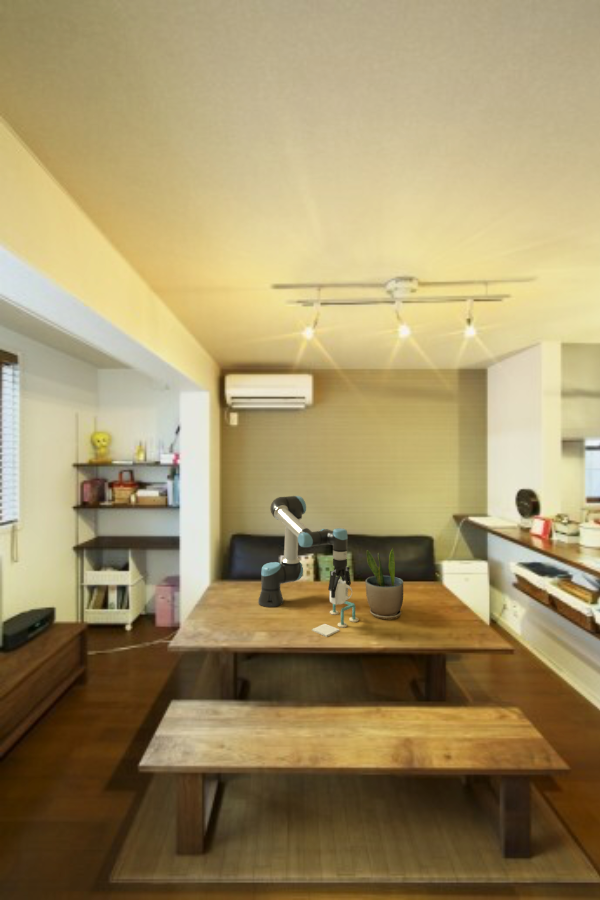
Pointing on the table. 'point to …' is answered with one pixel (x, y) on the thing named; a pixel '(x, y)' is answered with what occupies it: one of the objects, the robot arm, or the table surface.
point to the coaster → (325, 630)
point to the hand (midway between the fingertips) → (339, 601)
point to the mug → (341, 592)
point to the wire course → (334, 612)
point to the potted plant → (384, 590)
